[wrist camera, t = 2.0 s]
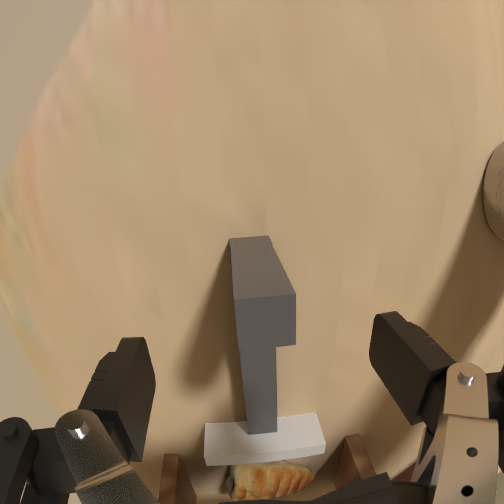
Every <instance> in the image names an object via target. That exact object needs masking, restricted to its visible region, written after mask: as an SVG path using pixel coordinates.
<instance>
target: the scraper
mask: <svg viewBox="0 0 504 504" xmlns="http://www.w3.org/2000/svg"><path fill="white" fill-rule="evenodd" d="M229 242H230V256H231V268H232V280H233V296H234V308H235V319H236V329H237V339H238V349H239V354H240V363H241V373H242V383H243V392H244V401H245V411H246V420H247V421H238V422H224V423H205V440H204V458H205V462H206V465H207V466H221V465H238V464H251V463H262V462H271V461H279V460H287V459H294V458H300V457H306V456H312V455H318V454H323V453H325V447H326V442H325V439H324V436H323V433H322V430H321V427H320V424H319V421H318V418H317V415H316V412H313V413H306V414H300V415H293V416H286V417H278V418H277V378H276V347H279V346H288V345H296V293H295V291H294V289H293V287H292V285H291V283H290V281H289V279H288V277H287V274H286V272H285V270H284V268H283V266H282V264H281V262H280V260H279V258H278V256H277V254H276V252H275V250H274V248H273V246H272V242H271V240H270V238H269V236H257V237H245V238H232V239H229Z"/></svg>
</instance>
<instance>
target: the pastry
mask: <svg viewBox="0 0 504 504" xmlns="http://www.w3.org/2000/svg"><path fill="white" fill-rule="evenodd" d="M230 469H231V470H230V476H229V477H228V478H227V480H226V487H227V489H228V494H229V496H230V498H231V499H232V500H234V501H238V500H239V499H242V500H261V499H265V500H269V499H270V498H278V497H281V496H287V495H290V494H291V493H294V492H298V491H301V490H303V489H304V488H305V487H306V486H307V485H308V484H309V483H310V482H311V481H313V480H314V474H313V473H312V472H311V471H310V470H309V469H308V467H306V466H304V465H302V464H294V463H291V462H287V461H285V460H279V461H271V462H262V463H251V464H238V465H231V467H230Z"/></svg>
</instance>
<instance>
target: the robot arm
mask: <svg viewBox="0 0 504 504" xmlns="http://www.w3.org/2000/svg"><path fill="white" fill-rule="evenodd" d="M483 203H484V211H485V215H486V219H487V222H488V224H489V226H490V229H491V230H492V232H493V233H494V234H495V235H496V236H497V237H499V238H500V239H502V240H504V143H502V144H501V145H499V147H498V148H497V149H496V150H495V151H494V153H493V155H492V156H491V158H490V161H489V163H488V166H487V169H486V174H485V178H484V187H483ZM369 358H370V362H371V365H372V367H373V368H374V370H375V371H376V373H377V374H378V376H379V377H380V379H381V380H382V382H383V383H384V385H385V386H386V388H387V389H388V391H389V392H390V394H391V395H392V397H393V398H394V400H395V401H396V403H397V404H398V406H399V407H400V409H401V411H402V412H403V414H404V415H405V417H406V418H407V420H408V421H409V423H410V424H411V426H412V425H415V424H417V423H420V422H423V421H424V423H425V424H426V426H425V428H424V431H423V435H422V439H421V444H420V448H419V452H418V456H417V460H416V464H415V468H414V471H413V474H412V477H411V479H410V481H391V480H390V478H389V476H388V474H387V472H385V473H382V474H379V475H376V476H372V477H369V478H366V479H362V480H359V481H355V482H351V483H348V484H346V485H344V486H342V487H340V488H338V489H336V490H334V491H332V492H330V493H328V494H326V495H323V496H321V497H319V498H317V499H314V500H312V501H280V500H265V499H261V500H251V501H239V502H224V503H219V504H495V501H496V491H497V478H498V465H499V467H500V468H501V470H502V471H503V473H504V365H503V367H502V370H501V372H496V373H487V374H485V372H484V371H483V370H482V369H481V368H480V367H478V366H477V365H474V364H472V363H467V362H459V363H456V362H455V361H454V360H453V359H452V358H451V357H450V356H449V355H448V354H447V353H446V352H445V351H444V350H443V349H442V348H441V347H440V346H439V345H438V344H437V343H435V341H434V340H433V339H432V338H431V337H429V335H428V334H427V333H426V332H425V331H424V330H423V329H422V328H421V327H419V326H417V325H415V324H413V323H411V322H407V321H406V320H405V319H404V318H403V317H402V316H401V315H400V314H399V313H398V312H396V311H393V312H387V313H381V314H377V315H376V316H375V318H374V322H373V329H372V336H371V342H370V348H369ZM155 386H156V382H155V374H154V370H153V366H152V363H151V359H150V355H149V351H148V347H147V344H146V340H145V339H144V337H129V338H122V339H121V341H120V343H119V345H118V347H117V350H116V352H109V353H108V354H107V355H105V356H104V357H103V358H102V359H101V360H100V361H99V363H98V365H97V367H96V369H95V373H94V374H93V376H92V378H91V381H90V382H89V385H88V387H87V389H86V391H85V393H84V396H83V398H82V400H81V402H80V405H79V407H78V409H77V410H73V411H70V412H68V413H66V414H64V415H63V416H62V417H60V418H59V420H58V421H57V423H56V425H55V427H53V428H46V429H37V430H32V429H31V427H30V426H29V424H28V423H27V422H26V421H25V420H24V419H22V418H19V417H12V418H8V419H5V420H3V421H2V422H0V504H68V498H69V494H70V493H77V495H78V497H79V499H80V501H81V503H82V504H160V503H159V502H158V501H157V499H156V498H155V497H154V496H153V494H152V493H151V492H150V491H149V489H148V488H147V487H146V485H145V484H144V483H143V481H142V480H141V479H140V477H139V476H138V475H137V473H136V472H135V471H134V469H133V468H132V467H131V465H130V464H129V463H130V461H133V462H142V457H143V451H144V445H145V440H146V434H147V429H148V423H149V418H150V413H151V408H152V403H153V398H154V393H155ZM25 483H27V484H26V487H25V490H24V493H23V497H22V500H21V503H20V499H21V495H22V492H23V489H24V486H25Z"/></svg>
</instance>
